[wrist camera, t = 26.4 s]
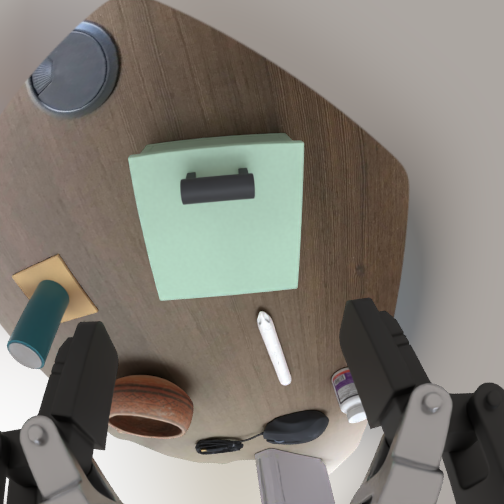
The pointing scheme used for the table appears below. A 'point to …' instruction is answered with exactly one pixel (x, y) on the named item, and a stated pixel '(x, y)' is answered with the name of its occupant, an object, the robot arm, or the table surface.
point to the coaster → (60, 274)
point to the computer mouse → (276, 432)
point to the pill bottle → (348, 396)
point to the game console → (292, 478)
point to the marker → (273, 347)
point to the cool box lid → (221, 217)
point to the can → (38, 324)
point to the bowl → (150, 407)
